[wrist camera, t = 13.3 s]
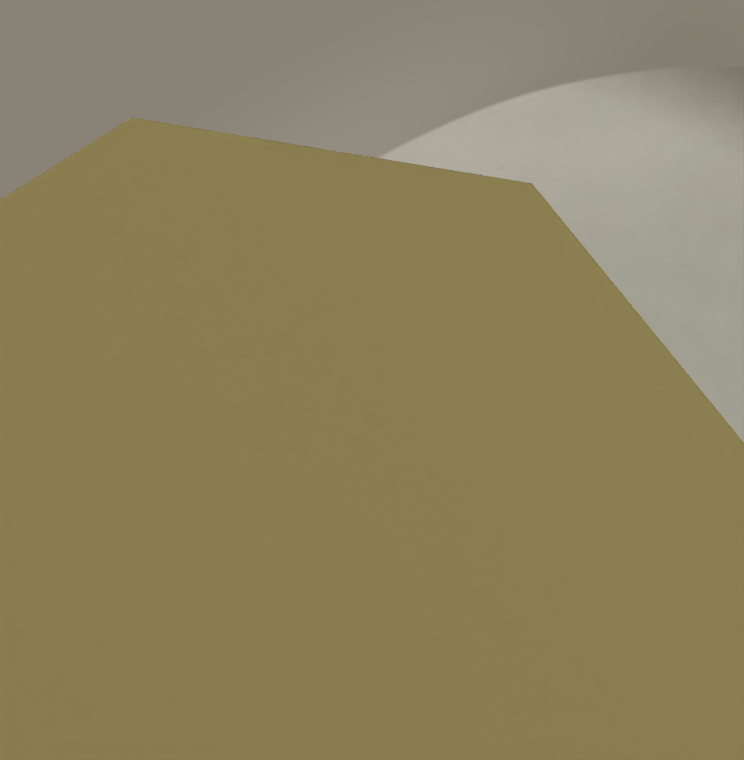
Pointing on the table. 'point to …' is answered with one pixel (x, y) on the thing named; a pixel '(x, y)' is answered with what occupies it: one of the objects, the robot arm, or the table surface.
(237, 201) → the jar
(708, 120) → the table surface
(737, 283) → the table surface
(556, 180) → the table surface
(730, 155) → the table surface
